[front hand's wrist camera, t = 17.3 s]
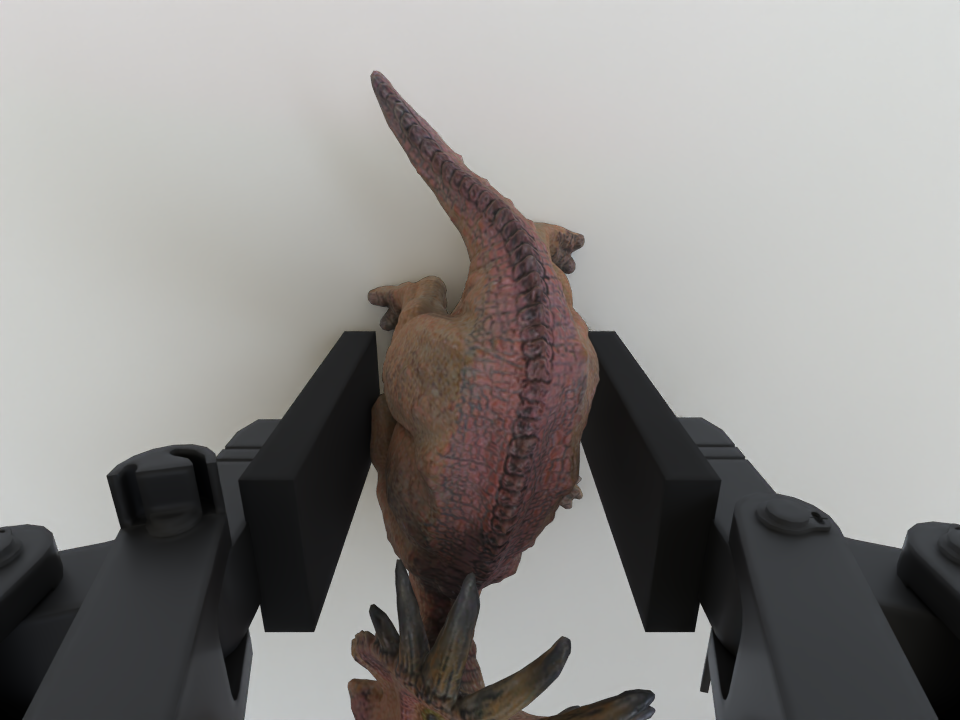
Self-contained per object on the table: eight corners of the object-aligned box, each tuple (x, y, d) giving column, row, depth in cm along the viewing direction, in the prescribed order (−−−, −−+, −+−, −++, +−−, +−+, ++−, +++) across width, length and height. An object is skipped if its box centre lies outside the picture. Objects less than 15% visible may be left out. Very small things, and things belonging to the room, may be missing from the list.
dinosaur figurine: (574, 575, 18) (664, 996, 9) (384, 573, 18) (290, 992, 9) (619, 87, 13) (918, -34, 4) (356, 83, 13) (84, -48, 4)
